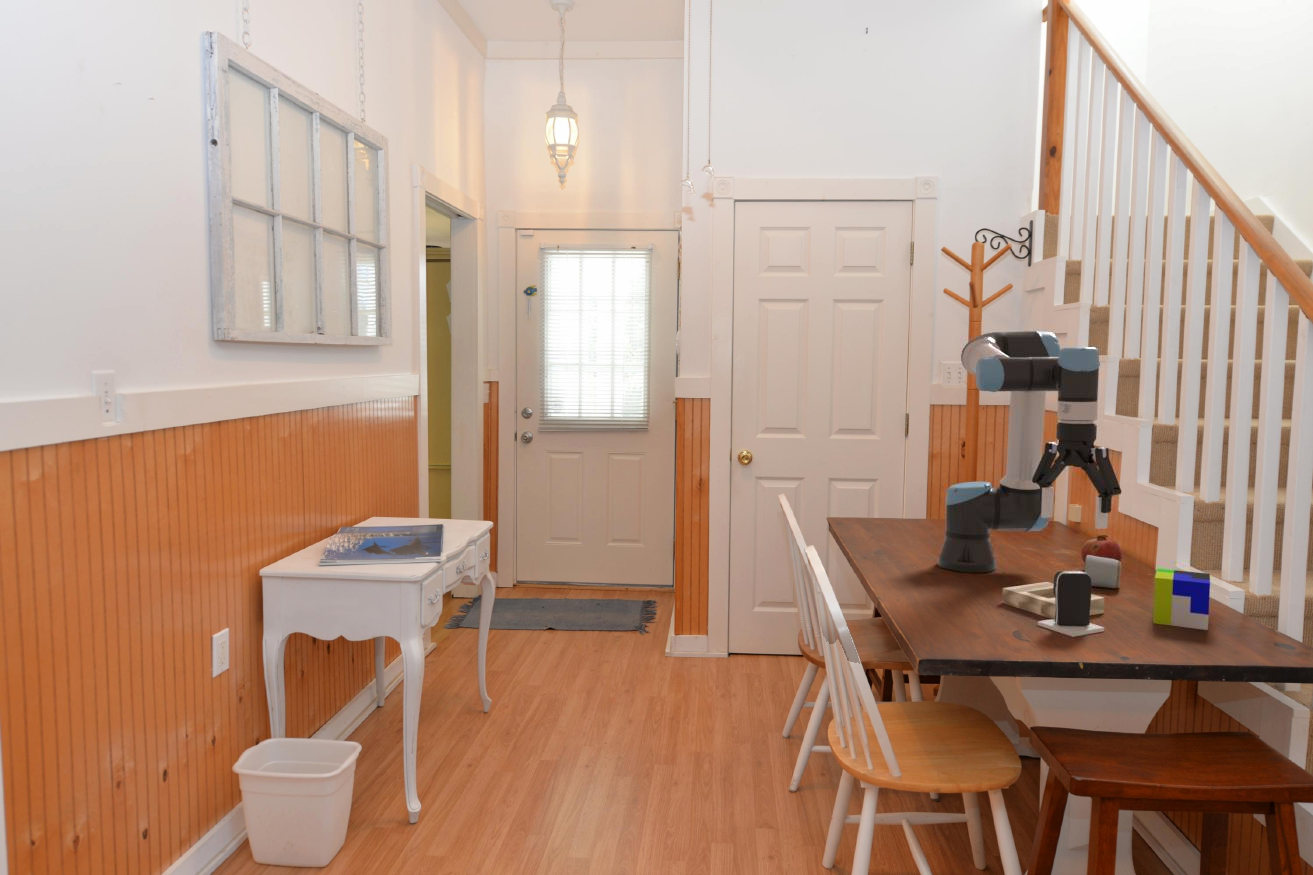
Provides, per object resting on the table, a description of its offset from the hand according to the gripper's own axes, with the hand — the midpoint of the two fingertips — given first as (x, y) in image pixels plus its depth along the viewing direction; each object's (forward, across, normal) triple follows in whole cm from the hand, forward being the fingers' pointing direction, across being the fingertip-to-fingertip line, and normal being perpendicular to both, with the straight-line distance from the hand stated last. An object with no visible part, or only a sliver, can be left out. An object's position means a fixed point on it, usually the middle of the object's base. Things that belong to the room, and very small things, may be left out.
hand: (1073, 522), depth 184 cm
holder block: (+23, -13, +9) cm, 27 cm away
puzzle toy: (+23, +6, +26) cm, 35 cm away
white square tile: (+22, 0, 0) cm, 23 cm away
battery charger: (+22, 0, 0) cm, 22 cm away
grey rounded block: (+23, -22, +36) cm, 49 cm away
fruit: (+23, -33, +49) cm, 63 cm away
